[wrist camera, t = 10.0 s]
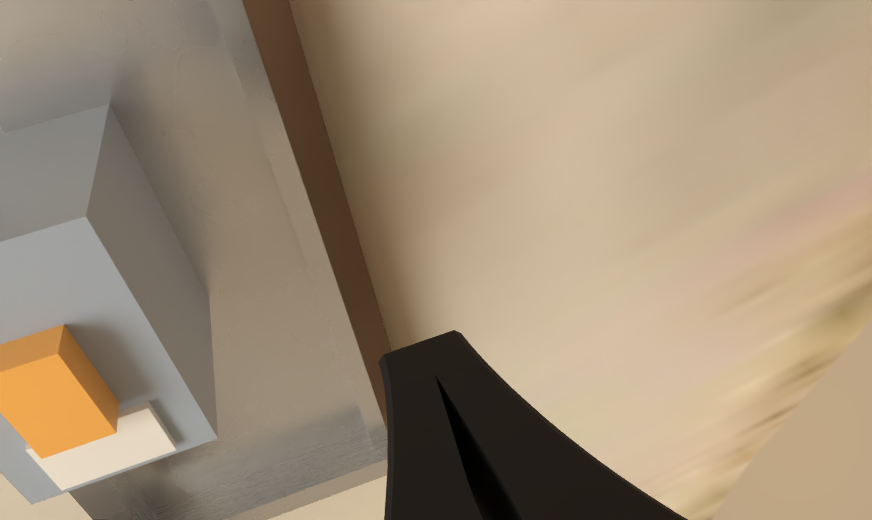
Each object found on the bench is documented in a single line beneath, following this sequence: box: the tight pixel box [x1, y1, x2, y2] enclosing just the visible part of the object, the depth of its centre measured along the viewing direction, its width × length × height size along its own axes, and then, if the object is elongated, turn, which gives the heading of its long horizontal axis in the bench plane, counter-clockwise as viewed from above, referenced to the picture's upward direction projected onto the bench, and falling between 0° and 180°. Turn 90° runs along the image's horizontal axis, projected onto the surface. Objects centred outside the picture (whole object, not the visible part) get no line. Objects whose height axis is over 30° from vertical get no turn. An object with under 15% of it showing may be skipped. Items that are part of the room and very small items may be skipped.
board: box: [242, 0, 392, 429], centre depth 18 cm, size 11×26×1 cm, turn 9°
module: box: [0, 104, 218, 504], centre depth 14 cm, size 4×6×6 cm, turn 9°
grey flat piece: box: [0, 0, 388, 520], centre depth 17 cm, size 9×22×2 cm, turn 9°
